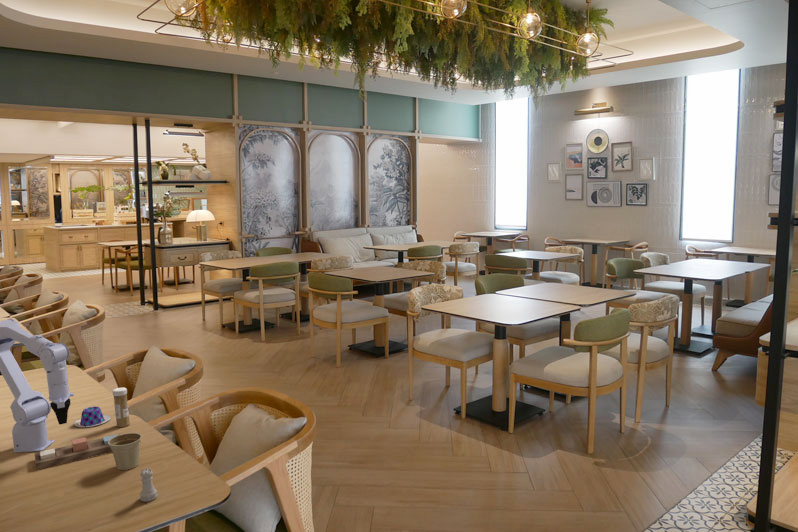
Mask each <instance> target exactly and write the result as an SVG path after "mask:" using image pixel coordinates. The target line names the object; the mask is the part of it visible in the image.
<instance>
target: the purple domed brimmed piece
mask: <svg viewBox="0 0 798 532" xmlns="http://www.w3.org/2000/svg"><path fill="white" fill-rule="evenodd" d="M104 418H105V419H104ZM109 420H111V416H110V415H108V414H104V413H103V412H102V410H101V408H100V407H99V406H90V407H86V408H84V409H83V410H82V412H81V417H80V419H77V420H76V421H74V423H73V426H75V427H77V428H91V427H95V426H99V425H102V424H104V423H107V422H108V421H109ZM80 421H81V422H80ZM79 422H80V425H81V426H80V425H79V424H78V423H79ZM100 423H101V424H100ZM85 426H86V427H85Z"/></svg>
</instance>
